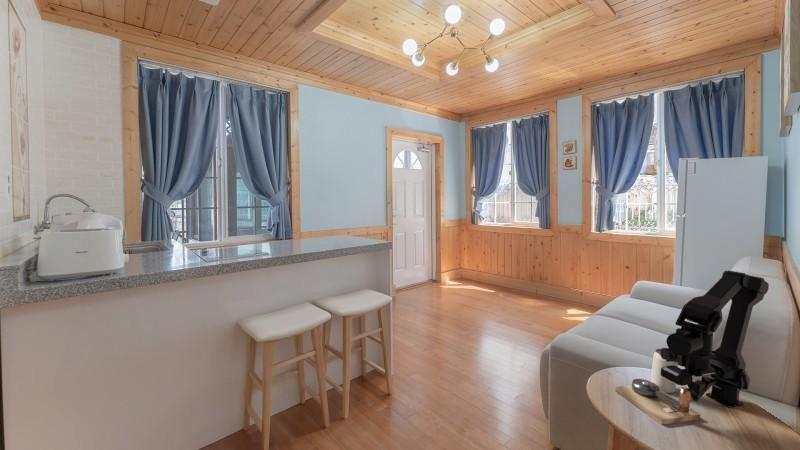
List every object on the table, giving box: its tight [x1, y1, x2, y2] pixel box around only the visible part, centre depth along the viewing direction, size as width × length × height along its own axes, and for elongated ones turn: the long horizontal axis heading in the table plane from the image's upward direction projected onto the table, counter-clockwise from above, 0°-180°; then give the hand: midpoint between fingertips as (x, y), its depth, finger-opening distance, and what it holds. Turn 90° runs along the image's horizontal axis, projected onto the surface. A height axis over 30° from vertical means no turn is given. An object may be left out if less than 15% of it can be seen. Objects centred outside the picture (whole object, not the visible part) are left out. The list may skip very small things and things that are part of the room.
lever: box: [631, 378, 692, 413], centre depth 106 cm, size 16×7×7 cm, turn 19°
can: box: [650, 348, 679, 394], centre depth 114 cm, size 6×6×12 cm
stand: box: [614, 384, 701, 425], centre depth 106 cm, size 13×16×2 cm
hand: (694, 400), depth 100 cm, fingers closed
